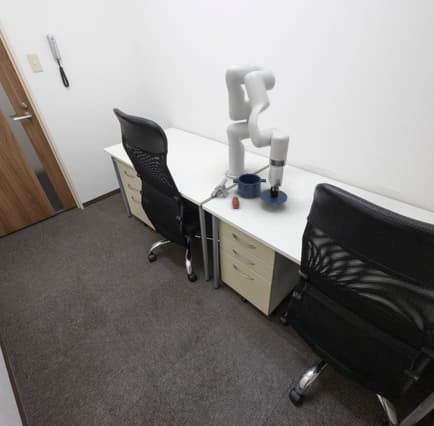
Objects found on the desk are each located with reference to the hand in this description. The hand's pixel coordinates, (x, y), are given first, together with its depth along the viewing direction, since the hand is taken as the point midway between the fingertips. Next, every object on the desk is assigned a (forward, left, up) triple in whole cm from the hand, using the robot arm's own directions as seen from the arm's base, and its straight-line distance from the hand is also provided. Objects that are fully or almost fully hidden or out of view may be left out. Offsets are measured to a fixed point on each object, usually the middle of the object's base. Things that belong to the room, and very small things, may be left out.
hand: (273, 195), depth 118 cm
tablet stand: (-12, -27, -6) cm, 30 cm away
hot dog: (-1, -19, -6) cm, 20 cm away
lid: (0, 0, -1) cm, 1 cm away
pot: (-13, -11, -6) cm, 18 cm away
